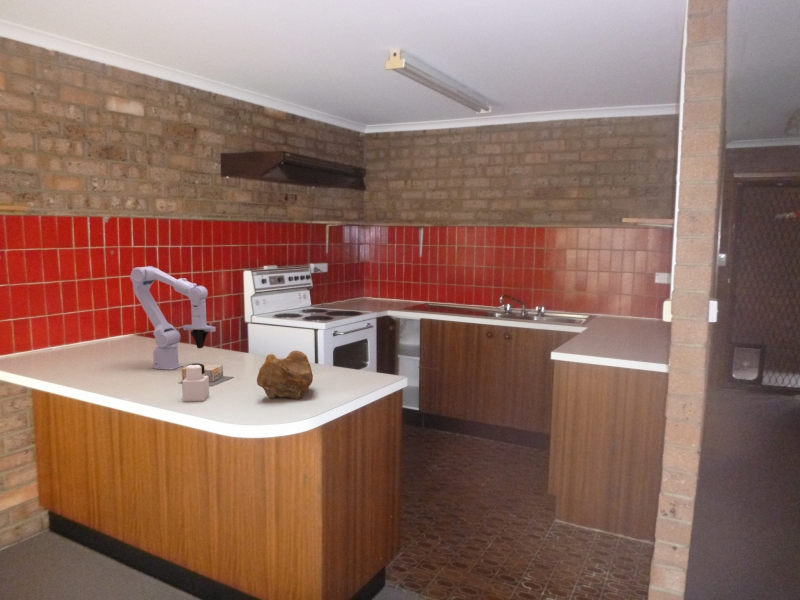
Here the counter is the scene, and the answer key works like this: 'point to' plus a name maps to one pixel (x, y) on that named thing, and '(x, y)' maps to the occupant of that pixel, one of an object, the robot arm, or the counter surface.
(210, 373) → the supplement box
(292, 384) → the rough brown rock
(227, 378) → the mat
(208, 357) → the counter surface
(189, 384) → the medicine bottle
